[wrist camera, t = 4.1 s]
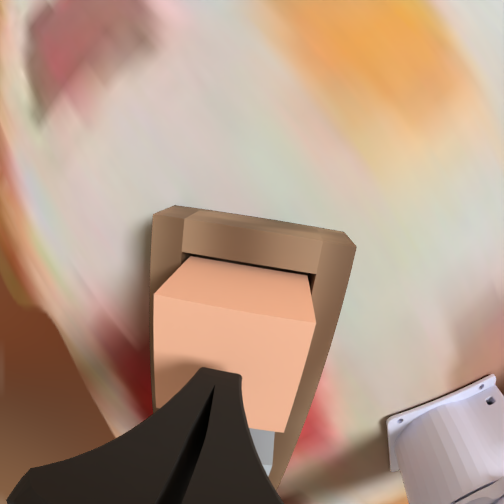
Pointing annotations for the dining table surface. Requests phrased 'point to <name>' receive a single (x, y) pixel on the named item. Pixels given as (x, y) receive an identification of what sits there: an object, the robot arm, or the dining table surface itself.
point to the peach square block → (235, 333)
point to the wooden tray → (268, 257)
